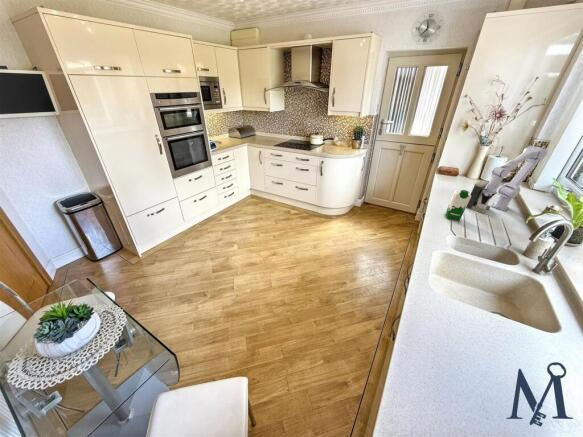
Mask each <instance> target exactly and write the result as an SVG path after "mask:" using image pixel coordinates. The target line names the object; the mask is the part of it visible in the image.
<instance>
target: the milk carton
mask: <svg viewBox="0 0 583 437" xmlns="http://www.w3.org/2000/svg"><path fill="white" fill-rule="evenodd" d="M470 194H471V192H470V191H469V190H466V189H461V190H457V189H455V190H454V193H453V194H452V197H451V199H450V201H449V204H448V206H447V209H446V212H445V217H446V220H451V221H454V222H455V221H456V222H460V220H461V219H462V216H463V215H464V213H465V210H466V209H467V208H466V206H467V204H468V202H469V200H470V198H471V195H470Z"/></svg>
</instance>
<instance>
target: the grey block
mask: <svg viewBox="0 0 583 437" xmlns="http://www.w3.org/2000/svg"><path fill="white" fill-rule="evenodd" d="M489 182H490V181H487V180H484V179H481V180H479V181H477V182H476V183H474V185H473V187H472V190H471V192H470V195H471V198H470V200H469V202H468V204H467V206H466V209H470V210H473V211H476V212H478V213H482V214H485V212H486V211H487V210H490V209H491V208H492V205H489V204H488V205H487V207H486V209H485V210H484V209H481V208H478V207H476V205H477V202H478V200H479V198H480V196H481V193H482V191H483V189H486V188H487V186H488V184H489Z"/></svg>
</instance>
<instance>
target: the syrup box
mask: <svg viewBox="0 0 583 437" xmlns="http://www.w3.org/2000/svg"><path fill="white" fill-rule="evenodd" d="M485 189H486V188H485ZM485 189H483V191H482V193H484V194H485ZM482 193H481V196H480V198H479V200H478V202H477V205H476V207H478V208H481V209H484V210H487V209H486V207H487V205H488V206H489V202H490V200H491V199H489V200H488V201H487V202H486V203H485V204H481V201H482ZM489 196H492V194H489Z"/></svg>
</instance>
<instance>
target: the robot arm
mask: <svg viewBox="0 0 583 437" xmlns="http://www.w3.org/2000/svg"><path fill="white" fill-rule="evenodd" d="M547 155H548V149H547V148H543V147H539V146H534V145H528V146H526V147H525V148H524V149H523V151H522V153H521V154H519V155H518V156H517V157H515V158H514V159H509V160H508V161H506V162H504V163H503V164H502V165H500V166H496V167H494V168H493V169H492V171H491V178H490V180H489V181H488V182H489V183H488V184H487V186H486V188H485V194H484V193H482V201H481V204H485V203H486V202H487V201H488V200H489V199H490V200H491V199H492V198H493V197H494V196H495V195H498V197H497V198H496V200H495V202H494V204H493V205H491V208H494V209H498V210H501V211H504V212H505V211H506V210H508V209H509V204H510V203H511V201H512V199H515V198H516V197H518V196H519V193H520V192H521V188H520V185H521V184H522V182H523V181H524V180H525V179H526V178H527V176H528V175H529V174H530V173H531V172H532V170H533V169H534V168H535V167H536V165H538V164H539V163H541V162H542V161H543V160H544V159H545V157H546V156H547ZM525 161H526V162H525ZM522 162H525V163H524V164H523V166H522V167H521V168H520V169H519V171H518V172H517V173H516V174H515V175H514V177H512V179H511V181H510V182H505V183H504V184H503V185H501V183H502V181H503V179H504V178H505V177H507V176H508V175H509V174H510V172H511V171H512V170H514V169H516V168H518V165H519V164H520V163H522ZM500 185H501V186H500ZM489 194H492V196H489ZM490 200H489V201H490Z"/></svg>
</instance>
